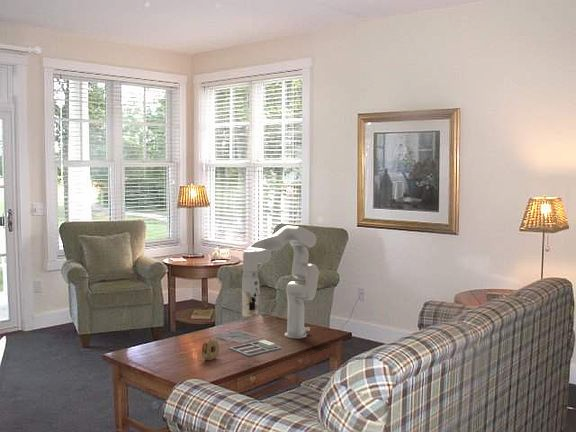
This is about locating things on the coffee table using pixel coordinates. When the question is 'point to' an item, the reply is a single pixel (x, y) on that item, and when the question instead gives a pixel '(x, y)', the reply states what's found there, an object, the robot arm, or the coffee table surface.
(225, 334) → the picture frame
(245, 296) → the birch board
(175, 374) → the coffee table surface
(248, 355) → the rack
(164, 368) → the coffee table surface
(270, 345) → the upper offcut
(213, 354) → the tan rounded piece
